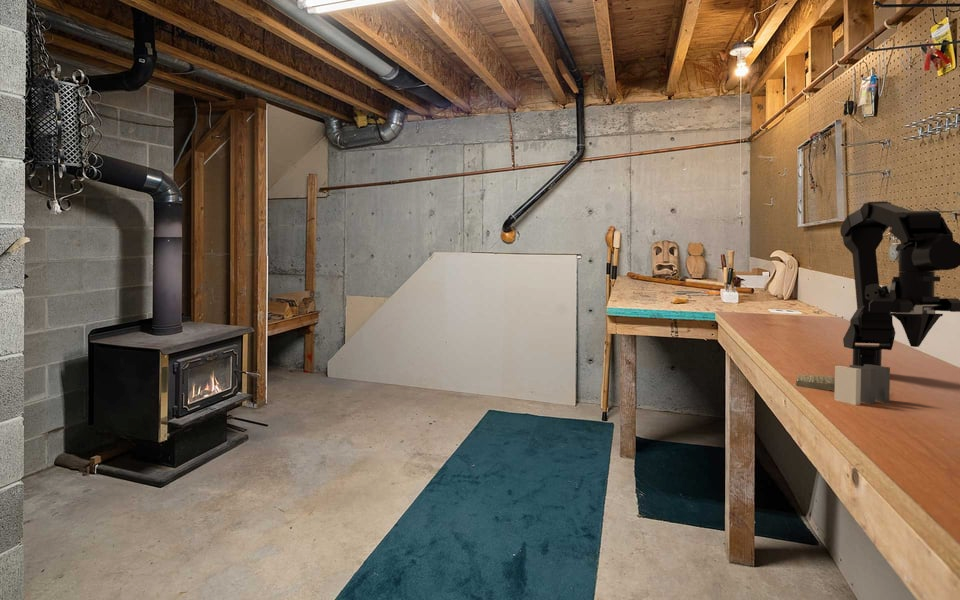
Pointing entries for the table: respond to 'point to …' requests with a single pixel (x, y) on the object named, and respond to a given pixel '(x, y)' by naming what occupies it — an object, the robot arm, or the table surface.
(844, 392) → the end domino
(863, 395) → the domino
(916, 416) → the table surface
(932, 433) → the table surface
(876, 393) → the domino
